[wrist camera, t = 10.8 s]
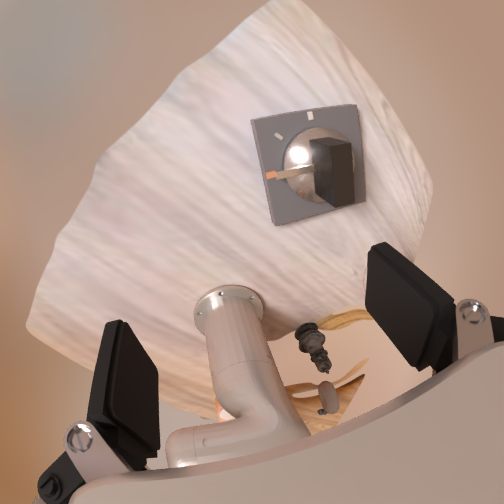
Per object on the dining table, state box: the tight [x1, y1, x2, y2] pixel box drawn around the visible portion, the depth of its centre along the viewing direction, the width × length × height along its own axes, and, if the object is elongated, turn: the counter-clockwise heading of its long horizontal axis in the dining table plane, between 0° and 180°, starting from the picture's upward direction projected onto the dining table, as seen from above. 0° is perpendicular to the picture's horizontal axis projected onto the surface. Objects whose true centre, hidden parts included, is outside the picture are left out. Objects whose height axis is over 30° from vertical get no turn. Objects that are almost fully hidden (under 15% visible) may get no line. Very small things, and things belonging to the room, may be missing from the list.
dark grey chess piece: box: [295, 323, 332, 374], centre depth 53 cm, size 6×6×12 cm
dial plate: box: [251, 104, 366, 226], centre depth 40 cm, size 16×16×2 cm
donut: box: [318, 381, 339, 414], centre depth 66 cm, size 10×4×10 cm, turn 9°
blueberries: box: [318, 409, 327, 415], centre depth 80 cm, size 7×8×2 cm
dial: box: [275, 127, 355, 208], centre depth 35 cm, size 12×11×8 cm
